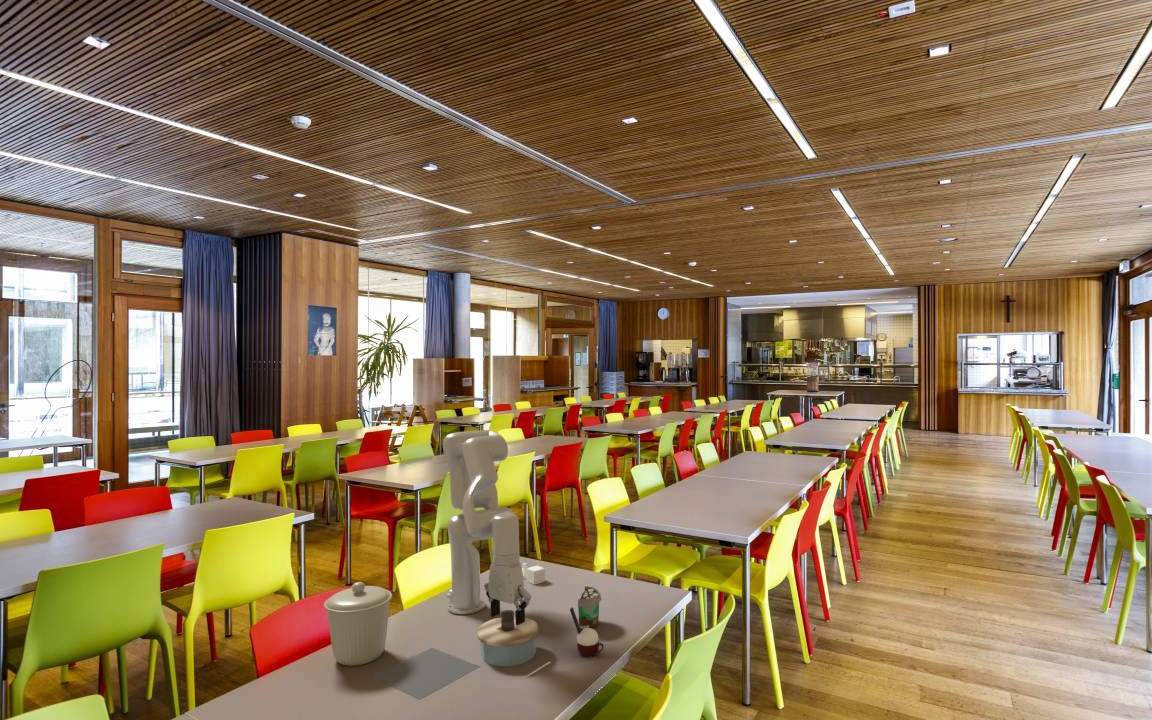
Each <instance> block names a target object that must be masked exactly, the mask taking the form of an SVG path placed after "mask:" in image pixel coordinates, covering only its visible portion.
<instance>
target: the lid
mask: <svg viewBox="0 0 1152 720" xmlns="http://www.w3.org/2000/svg"><path fill="white" fill-rule="evenodd" d="M476 632H477V633H476V634H477V635H476V636H477V639H478V640H479V642H480V641H481V642H482V643H484V644H487V645H491V646H499V647H506V646H515V645H519V644H523V643H526V642H528V641H530V640H532V639H533V638H535V637H536V638H537V636H538V634H539V625H538V623H537V622H536V621H535V620H533V619H531V618H528V617H525V622H524V623H522V624H520V625H516V619H515V611H514V610H512V609H506V610H502V611H500V617H497V618H492V619H489V620H488V621H486V622H483V623H482V624H480V626H478V628H477V631H476Z"/></svg>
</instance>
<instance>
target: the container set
mask: <svg viewBox="0 0 1152 720" xmlns="http://www.w3.org/2000/svg"><path fill="white" fill-rule="evenodd" d="M545 571H546V570H545V568H544V567H542V566H540V565H534V566H530V567H528V563H527V562H523V563H522V573H523V580H526V582H527V583H529V584H531V585H538V584H541V583H544V582H545V581H546V573H545Z"/></svg>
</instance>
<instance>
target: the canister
mask: <svg viewBox="0 0 1152 720" xmlns="http://www.w3.org/2000/svg"><path fill="white" fill-rule="evenodd" d="M392 597H393V593H392V592H391V591H390V590H388V589H385V588H384V587H382V586H376V585H366V584H365V583H364V582H362V581H357V582H354V583H353V584H352V586H351V587H350V588H347V589H343V590H340V591H339V592H336V593H334V594H333V595H331V597H330V596H329V598H327V599H326V600H325V602H324V603H323V607H324V609H325V610H326V612H327V620H328V627H329V636H330V642H331V648H332V652H333V657H334V659H335V661H337V662H338V663H339V664H341V665H343V666H346V665H348V666H349V667H353V666H354V665H355V666H362V665H365V664H369V663H371V662H373V661H375V660H376V659H378V658H380V656H382V654H383V652H384V650H385V646H386V642H387V633H388V624H389V623H388V622H389V611H390V601H391V600H392Z"/></svg>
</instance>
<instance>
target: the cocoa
mask: <svg viewBox="0 0 1152 720" xmlns="http://www.w3.org/2000/svg"><path fill="white" fill-rule="evenodd" d="M569 612H570V614H571V617H572V621H573V623H574V625H575V627H576V631H577V636H576V647H577V651H578V653H579V654H580V655H582V656H583V657H585V656H586V658H590V657H589V656H591V657H593V656H595V655H596V654H599V653H600V652H602V651H603V650H604V648H605V647H604V644H603V643H602V642H600V639H599V634H598V632H597V631H596V630H595V629H591V628H584V629H583V630H582V631H581V629H580V626H579V619H578V618H577V615H576V613H575V610H574V607H571V608H570V609H569ZM599 646H601V649H599Z"/></svg>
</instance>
